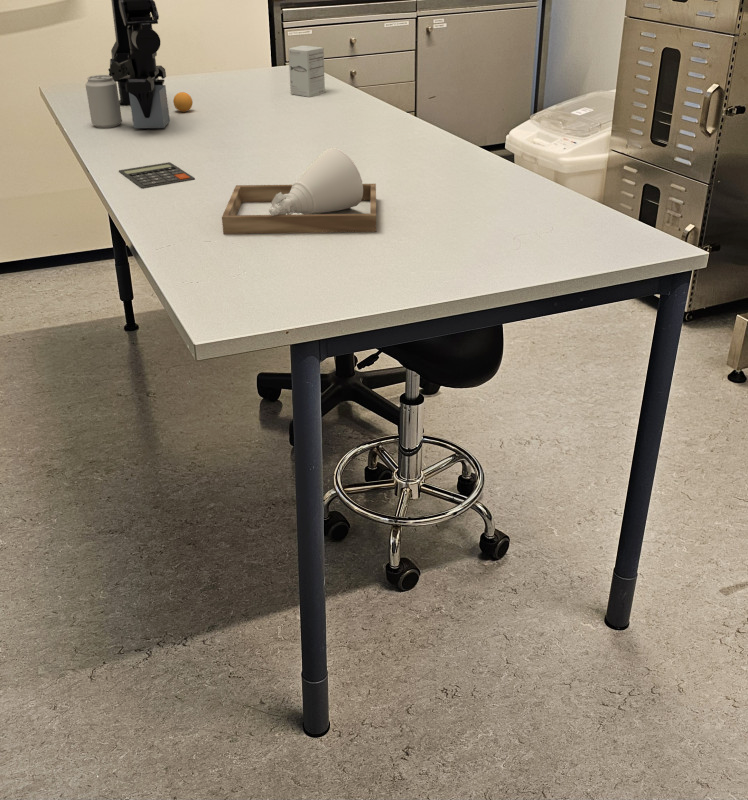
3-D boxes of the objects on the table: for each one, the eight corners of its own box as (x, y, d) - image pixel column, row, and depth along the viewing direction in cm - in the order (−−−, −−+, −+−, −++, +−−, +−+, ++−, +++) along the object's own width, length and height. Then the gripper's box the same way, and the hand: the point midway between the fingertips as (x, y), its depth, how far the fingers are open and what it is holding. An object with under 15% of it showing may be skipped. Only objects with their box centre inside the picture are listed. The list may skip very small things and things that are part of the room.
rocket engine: (258, 174, 158) (335, 136, 166) (239, 205, 168) (312, 167, 176) (297, 230, 158) (372, 188, 167) (276, 257, 168) (347, 217, 177)
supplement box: (289, 94, 265) (287, 48, 259) (306, 90, 270) (304, 44, 264) (309, 97, 261) (307, 50, 255) (326, 93, 266) (324, 46, 260)
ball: (176, 109, 250) (174, 90, 247) (194, 109, 250) (192, 90, 247) (172, 113, 245) (170, 94, 243) (191, 113, 245) (189, 94, 243)
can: (118, 128, 232) (110, 79, 226) (88, 128, 232) (80, 79, 226) (125, 121, 238) (118, 73, 232) (97, 121, 238) (89, 73, 233)
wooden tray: (237, 200, 179) (235, 185, 178) (376, 198, 179) (375, 183, 178) (223, 233, 163) (221, 217, 161) (376, 231, 163) (376, 215, 161)
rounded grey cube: (140, 121, 236) (135, 85, 231) (169, 120, 236) (165, 85, 231) (133, 128, 229) (128, 91, 225) (163, 127, 229) (159, 91, 225)
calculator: (141, 186, 187) (118, 169, 198) (141, 191, 187) (118, 173, 198) (195, 177, 192) (169, 161, 203) (195, 181, 192) (170, 165, 204)
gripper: (118, 42, 232) (127, 106, 239) (98, 55, 215) (109, 123, 223) (162, 42, 232) (170, 105, 239) (146, 54, 215) (155, 122, 223)
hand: (150, 114), depth 231 cm, fingers closed on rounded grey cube, 7 cm apart
